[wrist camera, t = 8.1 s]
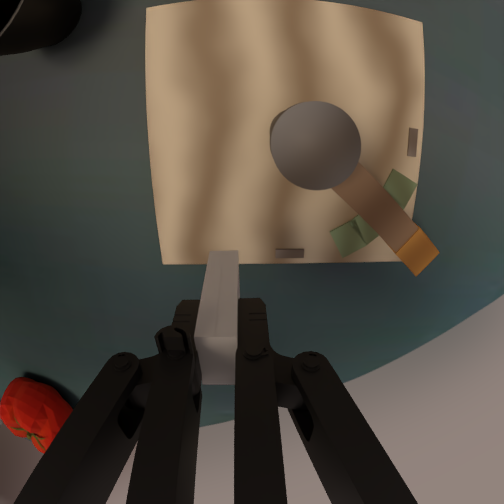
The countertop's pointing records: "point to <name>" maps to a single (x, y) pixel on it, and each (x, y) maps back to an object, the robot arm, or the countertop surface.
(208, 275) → the robot arm
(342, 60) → the dial board
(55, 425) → the tomato
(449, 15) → the countertop surface
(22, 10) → the mug
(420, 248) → the peg lever
